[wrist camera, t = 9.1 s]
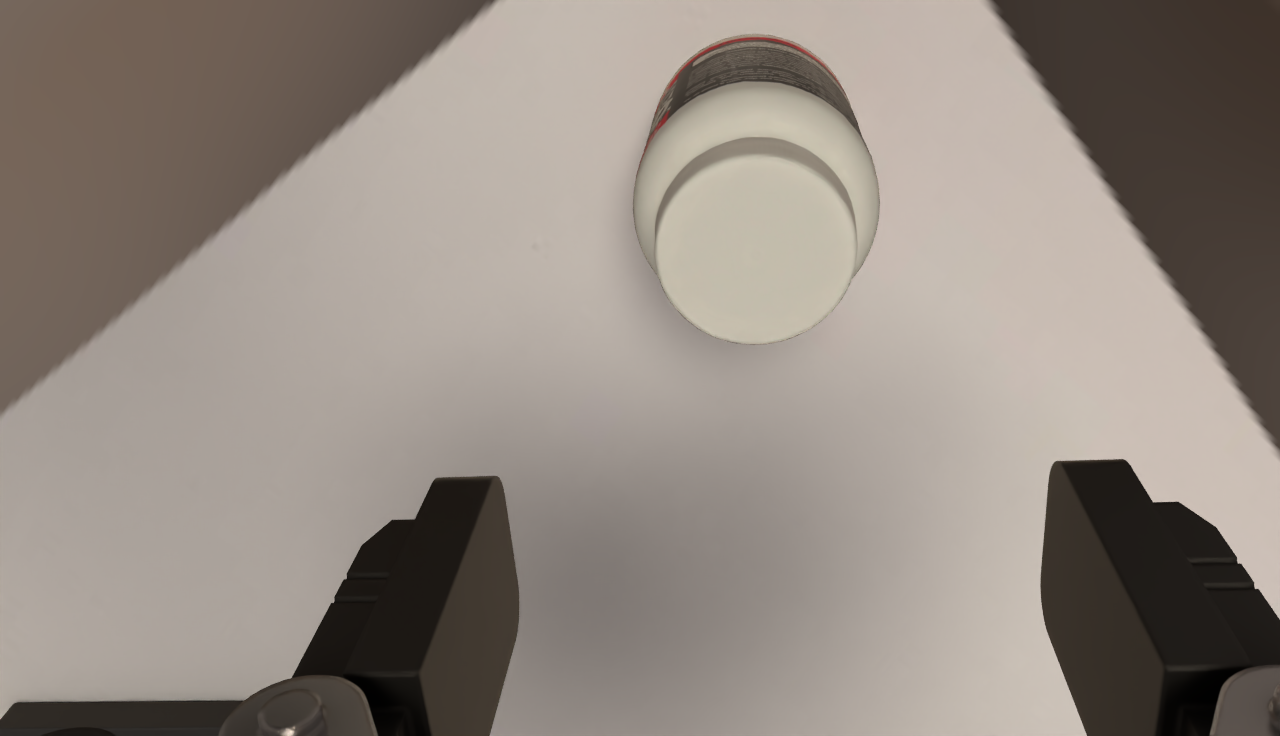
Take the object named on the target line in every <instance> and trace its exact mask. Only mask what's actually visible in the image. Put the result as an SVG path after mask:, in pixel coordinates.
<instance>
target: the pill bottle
mask: <svg viewBox="0 0 1280 736" xmlns="http://www.w3.org/2000/svg"><path fill="white" fill-rule="evenodd" d="M879 207H880V199H879V187H878V180H877V176H876V172H875V168H874V164H873V161H872V157H871V155H870V153H869V151H868V148H867V146H866V144H865V142H864V140H863V138H862V135H861V132H860V129H859V126H858V123H857V120H856V118H855V115H854V113H853V110H852V108H851V105H850V103H849V100H848V98H847V96H846V94H845V92H844V90H843V88H842V86H841V84H840V83H839V81H838V80H837V78H836V76H835V75H834V73H833V72H832V71H831V70H830V69H829V67H828V66H827V65H826V64H825V63H824V62H823V61H822V60H821V59H820V58H818V57H817V56H816V55H814V54H813V53H811V52H810V51H809V50H807V49H805V48H804V47H802V46H800V45H799V44H797V43H794V42H792V41H789V40H786V39H783V38H779V37H775V36H771V35H762V34H749V35H740V36H735V37H730V38H726V39H723V40H721V41H718V42H716V43H713V44H711V45H709V46H707V47H706V48H704V49H702V50H700V51H699V52H698V53H696V54H695V55H694V56H692V57H691V58H690V59H688V60H687V61H686V62H685V63H684V64H683V65H682V66H681V67H680V68H679V69H678V71H677V72H676V73H675V75H674V76H673V78H672V79H671V80H670V82H669V83H668V85H667V87H666V89H665V91H664V93H663V95H662V97H661V99H660V101H659V104H658V107H657V110H656V112H655V116H654V119H653V122H652V126H651V130H650V133H649V137H648V140H647V143H646V146H645V149H644V153H643V156H642V158H641V161H640V165H639V168H638V172H637V175H636V181H635V187H634V198H633V214H634V222H635V229H636V233H637V236H638V240H639V243H640V246H641V248H642V251H643V253H644V255H645V257H646V259H647V261H648V262H649V264H650V266H651V268H652V269H653V270H654V272H655V273H656V275H657V276H658V277H659V280H660V282H661V285H662V288H663V290H664V292H665V294H666V296H667V297H668V299H669V300H670V302H671V303H672V304H673V306H674V307H675V308H676V309H677V311H678V312H679V313H680V314H681V315H682V316H683V317H684V318H685V319H686V320H688V321H689V322H690V323H691V324H693V325H694V326H695V327H696V328H698V329H699V330H701V331H703V332H705V333H707V334H709V335H711V336H713V337H715V338H718V339H721V340H725V341H728V342H733V343H738V344H750V345H759V344H770V343H775V342H780V341H784V340H787V339H790V338H793V337H795V336H797V335H799V334H801V333H804V332H806V331H807V330H809V329H811V328H812V327H814V326H815V325H817V324H818V323H819V322H821V321H822V320H823V319H824V318H825V317H826V316H827V315H828V314H829V313H830V312H832V310H833V309H834V308H835V307H836V306H837V305H838V303H839V302H840V301H841V299H842V298H843V296H844V294H845V292H846V290H847V288H848V287H849V285H850V282H851V280H852V278H853V277H854V276H855V274H856V273H857V272H858V270H859V269H860V268H861V266H862V264H863V263H864V261H865V259H866V257H867V255H868V253H869V251H870V249H871V246H872V244H873V241H874V237H875V234H876V230H877V225H878V219H879Z"/></svg>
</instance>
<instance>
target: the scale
mask: <svg viewBox="0 0 1280 736" xmlns="http://www.w3.org/2000/svg"><path fill="white" fill-rule="evenodd" d="M242 702H243V701H216V702H92V703H15V704H13V705H12V706H11V708H10V709H9V710H8V711H7V712H6V714H5V715H4V716H3V717H2V718H1V720H0V736H40V735H43V734H46V733H50V732H53V731H57V730H62V729H66V728H75V727H94V728H100V729H104V730H107V731H109V732H111V733H113V734H114V735H116V736H218V734H219V731H220V729H221V727H222V725H223V723H224V721H225V720H226V719H227V717H228V716H229V715H230V713H231V712H232V711H233V710H234V709H235V708H236V707H237V706H238V705H240V704H241V703H242Z"/></svg>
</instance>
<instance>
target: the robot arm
mask: <svg viewBox="0 0 1280 736" xmlns="http://www.w3.org/2000/svg"><path fill="white" fill-rule="evenodd" d="M334 598H335V601H334V603H331V605H330V606H329V608H328V610H327V612H326V614H325V616H324V618H323V620H322V622H321V623H320V625H319V627H318V629H317V631H316V633H315V635H314V637H313V639H312V640H311V642H310V644H309V646H308V648H307V650H306V652H305V654H304V656H303V657H302V659H301V661H300V663H299V665H298V667H297V669H296V671H295V673H294V675H293V676H292V678H291V679H287V680H283V681H281V682H278V683H275V684H272V685H270V686H268V687H266V688H264V689H262V690H260V691H258V692H257V693H255V694H253V695H252V696H250V697H249V698H247V699H246V700H245V701H243V702H242V703H241V704H240V705H238V706H237V707H236V708H235V709H234V710H233V711H232V712H231V713H230V715H229V716H228V717H227V719H226V720H225V721H224V723H223V725H222V727H221V729H220V731H219V734H218V736H489V735H490V732H491V728H492V724H493V721H494V717H495V714H496V710H497V706H498V703H499V699H500V695H501V692H502V688H503V685H504V681H505V677H506V674H507V670H508V666H509V663H510V659H511V656H512V652H513V648H514V645H515V641H516V637H517V631H518V623H519V588H518V580H517V573H516V567H515V560H514V553H513V546H512V540H511V533H510V526H509V520H508V513H507V506H506V500H505V494H504V489H503V485H502V482H501V480H500V478H499V477H498V476H478V477H443V478H436V479H435V480H434V481H433V482H432V484H431V486H430V489H429V491H428V493H427V495H426V497H425V499H424V501H423V503H422V506H421V508H420V510H419V512H418V514H417V516H416V518H415V519H414V520H391V521H390V522H389V523H388V524H387V525H386V526H384V527H383V528H382V529H381V530H380V531H378V532H377V533H376V534H375V535H374V536H372V537H371V538H370V539H369V540H368V541H366V542H365V543H364V544H363V545H362V546H361V548H360V550H359V552H358V553H357V555H356V557H355V559H354V561H353V563H352V565H351V567H350V569H349V570H348V572H347V579H344V580H343V582H342V584H341V586H340V587H339V589H338V591H337V593H336V595H335V597H334ZM1041 602H1042V610H1043V616H1044V621H1045V625H1046V629H1047V632H1048V635H1049V638H1050V640H1051V643H1052V646H1053V648H1054V651H1055V653H1056V656H1057V659H1058V661H1059V664H1060V666H1061V669H1062V672H1063V674H1064V677H1065V679H1066V682H1067V685H1068V687H1069V690H1070V692H1071V695H1072V697H1073V700H1074V703H1075V705H1076V708H1077V710H1078V713H1079V716H1080V718H1081V721H1082V723H1083V726H1084V729H1085V731H1086V734H1087V736H1280V620H1279V618H1278V617H1277V615H1276V614H1275V612H1274V611H1273V609H1272V608H1271V606H1270V605H1269V604H1268V602H1267V601H1266V599H1265V598H1264V596H1263V595H1262V593H1261V592H1260V590H1259V589H1255V588H1254V582H1253V580H1252V579H1251V577H1250V576H1249V574H1248V573H1247V571H1246V570H1245V569H1244V567H1243V566H1242V564H1238V563H1237V557H1236V555H1235V554H1234V553H1233V551H1232V550H1231V548H1230V547H1229V545H1228V544H1227V542H1226V541H1225V539H1224V538H1223V537H1222V535H1221V534H1220V532H1219V531H1218V529H1217V528H1216V527H1215V526H1213V525H1212V524H1210V523H1209V522H1207V521H1206V520H1204V519H1203V518H1202V517H1200V516H1199V515H1197V514H1196V513H1194V512H1193V511H1191V510H1190V509H1188V508H1187V507H1185V506H1184V505H1182V504H1181V503H1179V502H1154V503H1153V502H1152V500H1151V498H1150V497H1149V495H1148V494H1147V492H1146V490H1145V489H1144V487H1143V485H1142V484H1141V482H1140V481H1139V479H1138V477H1137V476H1136V474H1135V473H1134V471H1133V469H1132V468H1131V466H1130V465H1129V463H1128V462H1127V461H1126V460H1123V459H1114V460H1079V461H1056V462H1054V464H1053V465H1052V467H1051V471H1050V476H1049V483H1048V495H1047V507H1046V519H1045V531H1044V543H1043V555H1042V567H1041ZM40 736H116V735H114V734H113V733H111V732H109V731H107V730H104V729H100V728H94V727H75V728H66V729H62V730H57V731H53V732H50V733H46V734H43V735H40Z"/></svg>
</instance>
